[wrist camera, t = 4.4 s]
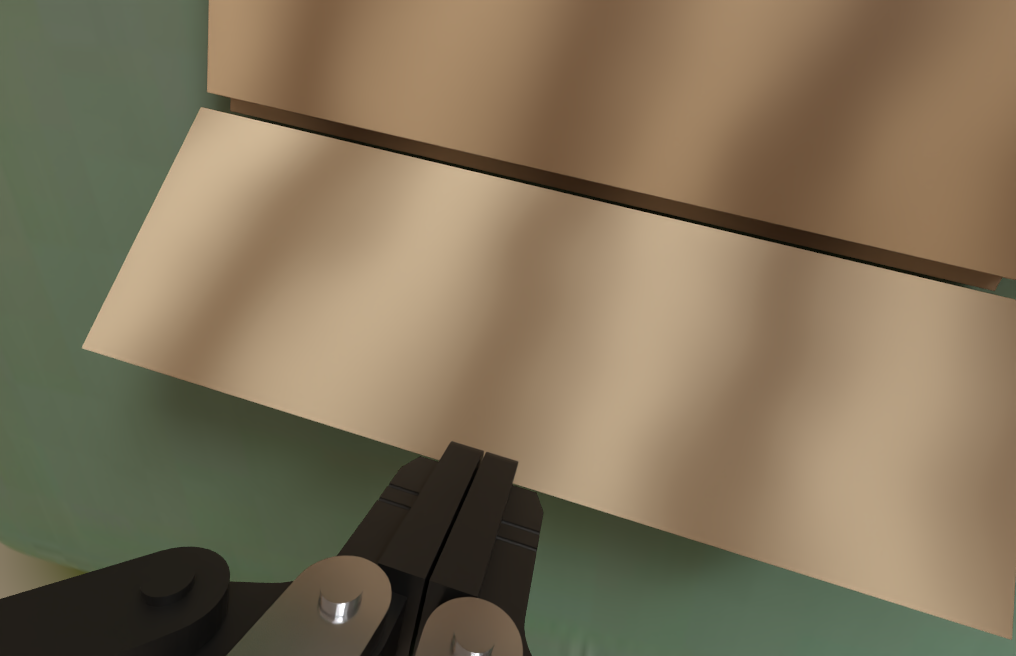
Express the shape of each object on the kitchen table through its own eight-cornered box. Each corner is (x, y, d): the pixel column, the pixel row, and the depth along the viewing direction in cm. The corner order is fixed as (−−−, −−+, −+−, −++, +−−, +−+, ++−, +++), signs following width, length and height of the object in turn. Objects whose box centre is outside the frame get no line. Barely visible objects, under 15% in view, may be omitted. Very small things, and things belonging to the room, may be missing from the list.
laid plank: (1155, -48, 11) (1252, -90, 10) (973, 286, 14) (1024, 298, 12) (260, -185, 14) (213, -237, 12) (247, 114, 17) (206, 105, 15)
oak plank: (967, 320, 14) (1031, 303, 12) (943, 610, 12) (1011, 639, 10) (236, 142, 17) (201, 107, 15) (134, 359, 15) (81, 348, 13)
